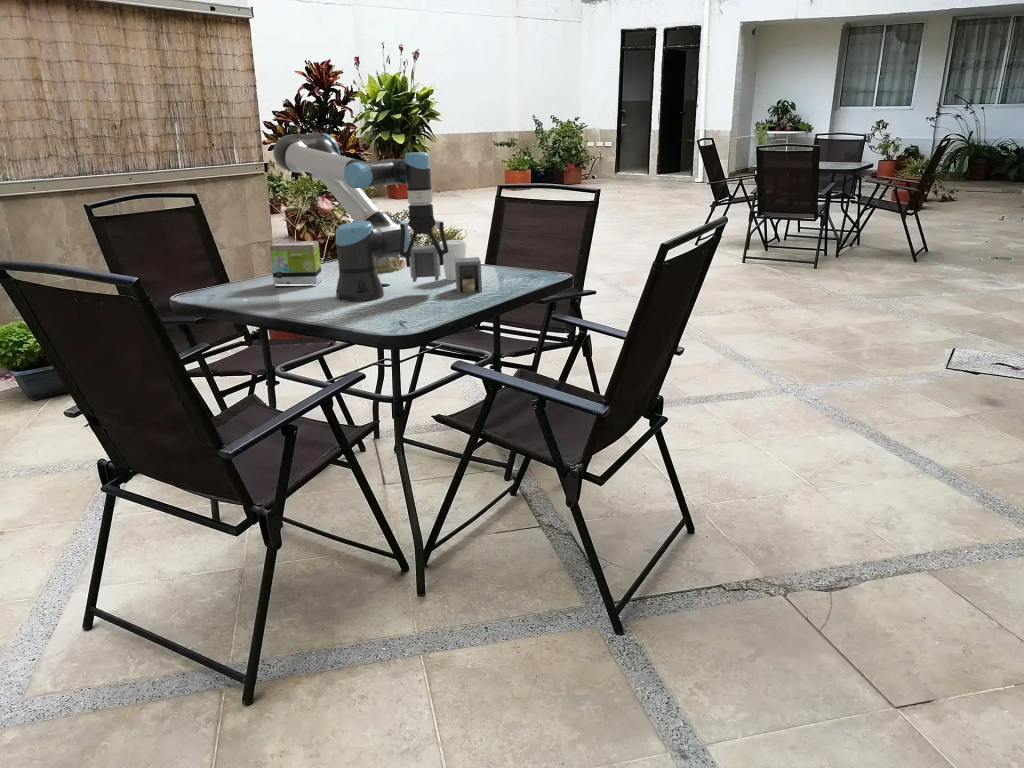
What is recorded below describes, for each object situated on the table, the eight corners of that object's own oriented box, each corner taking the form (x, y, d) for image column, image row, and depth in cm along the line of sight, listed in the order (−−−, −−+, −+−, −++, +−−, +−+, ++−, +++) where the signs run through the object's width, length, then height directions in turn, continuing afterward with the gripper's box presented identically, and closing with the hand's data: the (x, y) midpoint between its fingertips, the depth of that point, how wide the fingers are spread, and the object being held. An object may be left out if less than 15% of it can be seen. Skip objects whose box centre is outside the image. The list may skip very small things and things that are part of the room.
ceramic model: (393, 273, 290) (391, 246, 287) (366, 272, 293) (364, 246, 290) (410, 266, 302) (408, 240, 299) (384, 266, 306) (382, 240, 303)
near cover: (413, 281, 247) (410, 250, 244) (414, 277, 254) (411, 246, 251) (438, 280, 247) (436, 248, 244) (438, 275, 255) (436, 245, 252)
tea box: (274, 288, 270) (268, 245, 266) (281, 282, 280) (275, 241, 275) (317, 286, 271) (312, 243, 266) (323, 281, 280) (318, 239, 275)
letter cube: (462, 291, 255) (462, 279, 253) (462, 289, 259) (462, 276, 257) (475, 291, 255) (474, 278, 254) (474, 288, 259) (474, 276, 257)
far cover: (457, 293, 252) (455, 262, 249) (456, 288, 260) (454, 258, 257) (482, 291, 253) (480, 261, 250) (480, 287, 261) (478, 257, 257)
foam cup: (470, 276, 279) (468, 239, 275) (466, 281, 271) (464, 243, 266) (444, 276, 280) (441, 240, 276) (439, 281, 272) (436, 244, 267)
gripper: (385, 206, 239) (392, 280, 246) (453, 203, 240) (458, 276, 248) (387, 204, 246) (394, 275, 254) (454, 201, 247) (458, 272, 255)
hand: (425, 276), depth 251 cm, fingers closed on near cover, 8 cm apart
